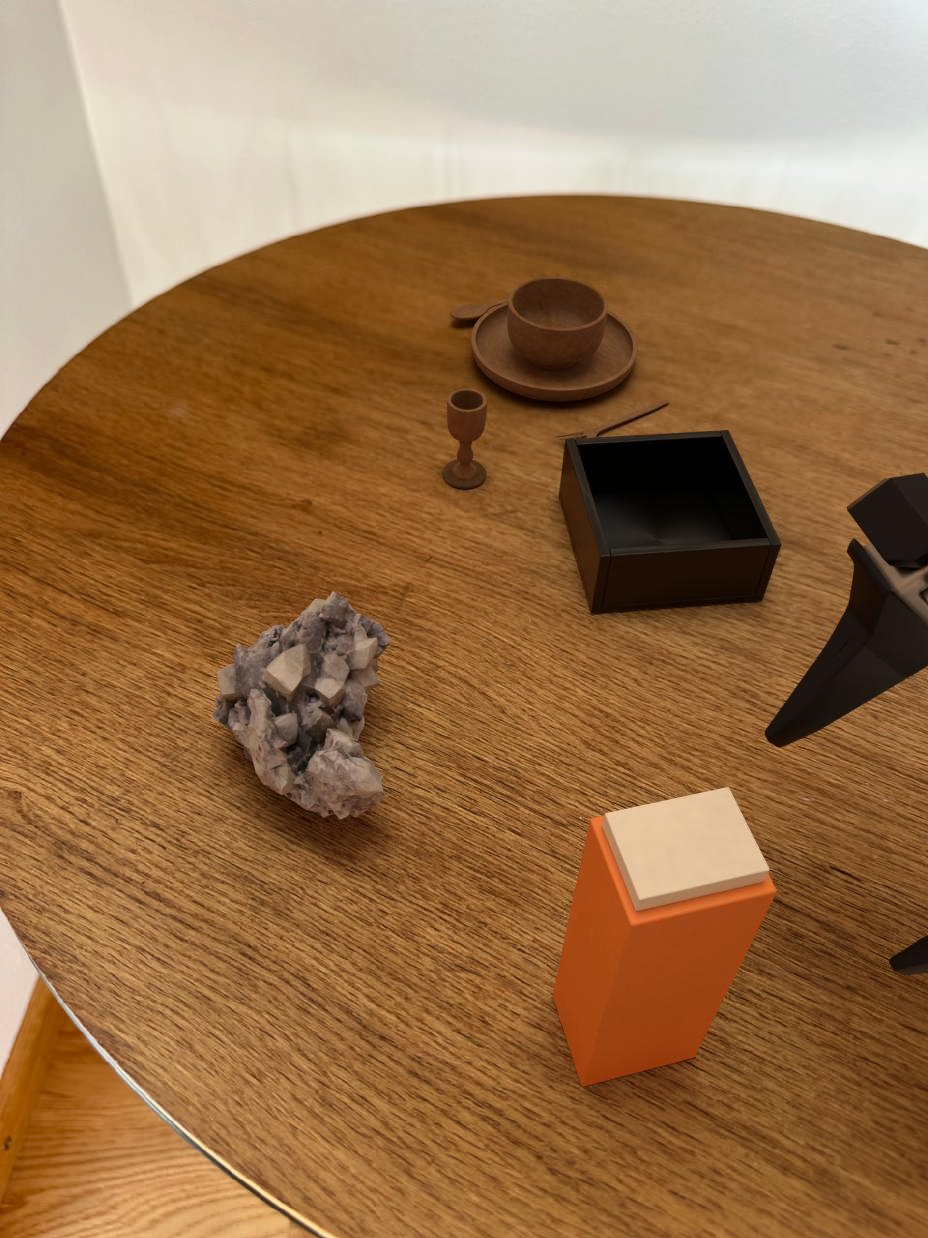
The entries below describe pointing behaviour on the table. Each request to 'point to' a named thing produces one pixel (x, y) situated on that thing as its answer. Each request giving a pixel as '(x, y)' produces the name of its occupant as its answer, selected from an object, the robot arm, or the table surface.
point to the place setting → (540, 358)
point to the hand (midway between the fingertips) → (828, 845)
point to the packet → (657, 931)
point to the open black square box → (665, 521)
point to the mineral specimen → (308, 707)
